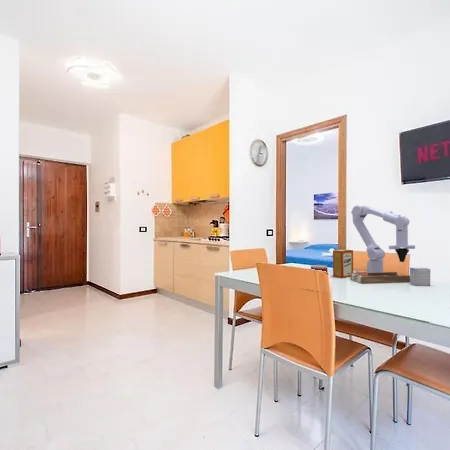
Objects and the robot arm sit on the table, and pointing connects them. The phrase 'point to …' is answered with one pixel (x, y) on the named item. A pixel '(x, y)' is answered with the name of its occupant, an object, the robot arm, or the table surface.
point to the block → (362, 273)
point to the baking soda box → (342, 263)
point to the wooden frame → (380, 278)
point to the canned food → (319, 267)
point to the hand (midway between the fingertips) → (402, 261)
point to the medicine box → (420, 276)
